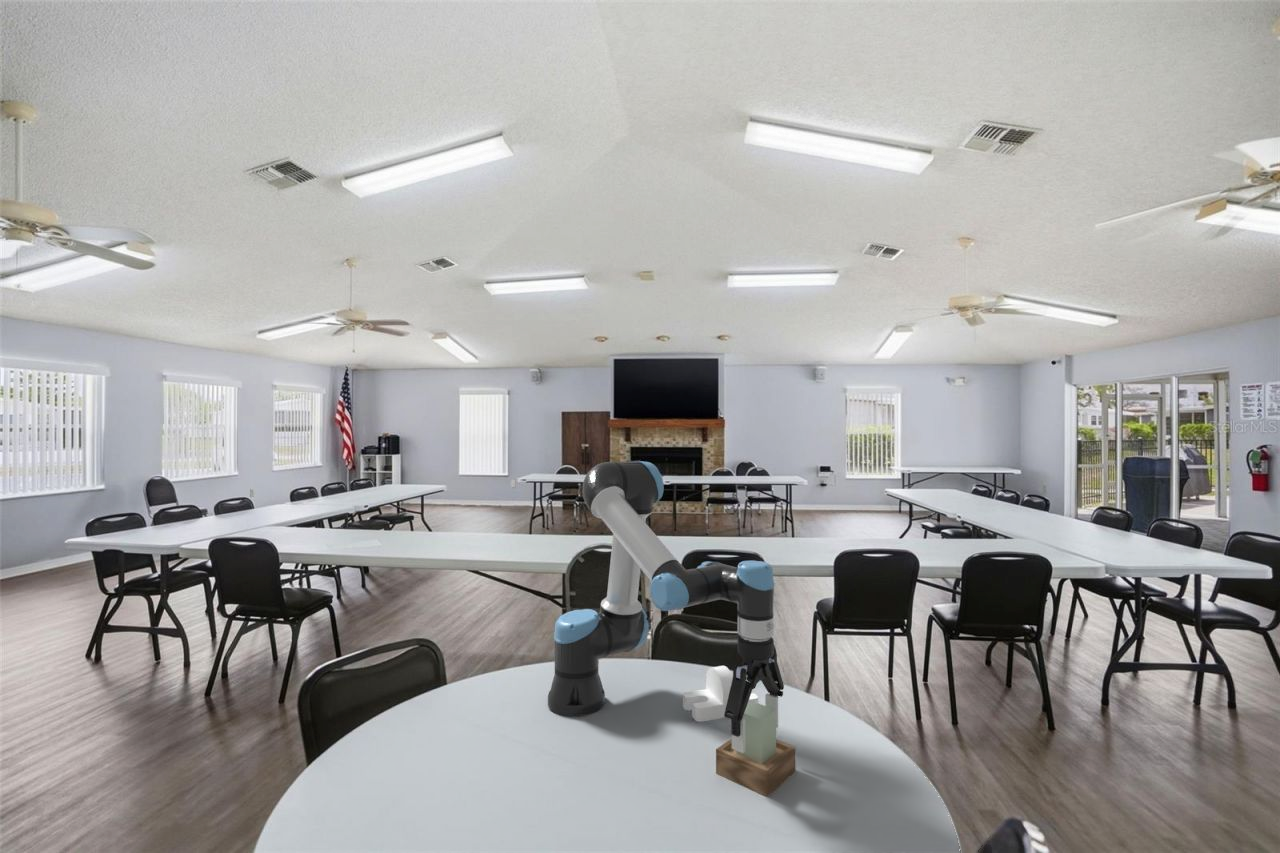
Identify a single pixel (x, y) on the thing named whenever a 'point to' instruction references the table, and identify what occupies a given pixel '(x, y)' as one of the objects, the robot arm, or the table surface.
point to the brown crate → (756, 767)
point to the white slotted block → (712, 695)
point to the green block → (759, 732)
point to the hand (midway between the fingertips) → (755, 737)
